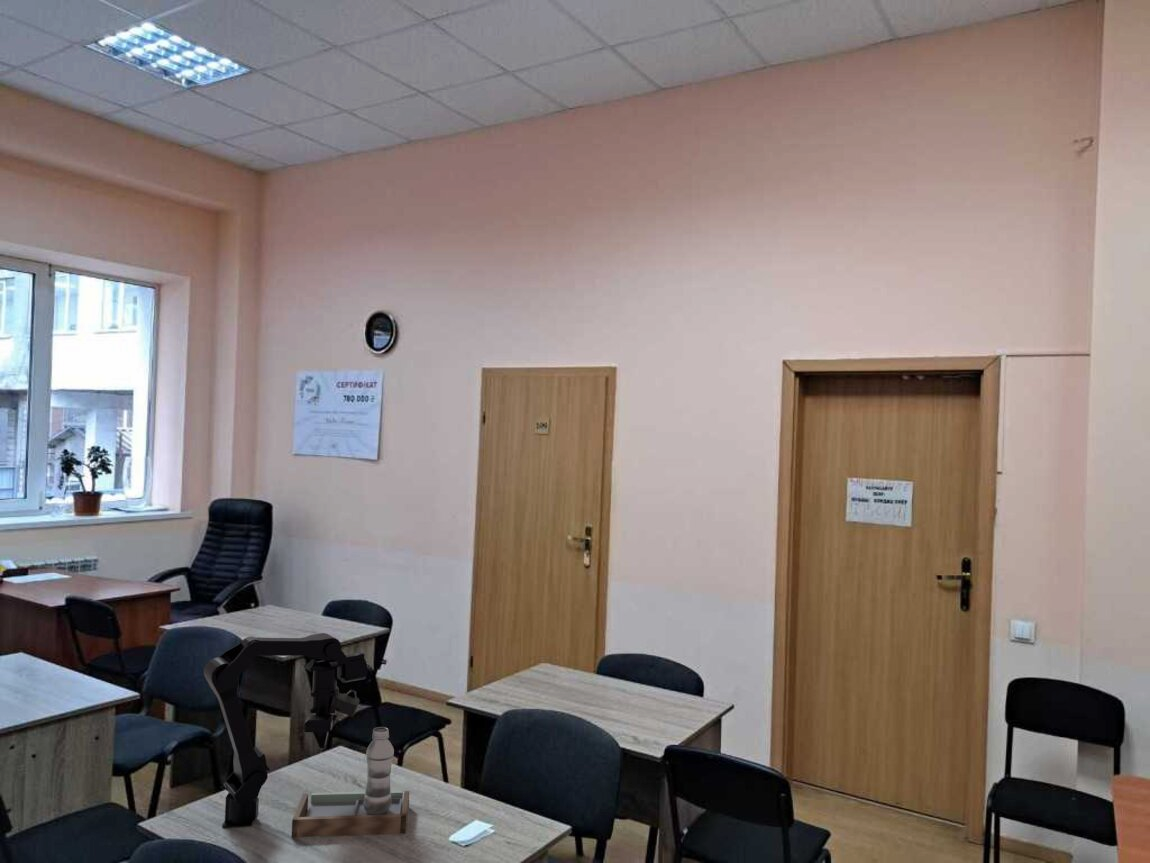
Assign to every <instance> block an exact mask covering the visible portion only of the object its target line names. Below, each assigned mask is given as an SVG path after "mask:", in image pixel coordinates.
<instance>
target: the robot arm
mask: <svg viewBox="0 0 1150 863" xmlns="http://www.w3.org/2000/svg"><path fill="white" fill-rule="evenodd" d="M260 656H261V657H263V656H264V657H265V656H266V657H283V656H286V657H289V656H290V657H291V656H292V657H294V656H296V657H297V656H300V657H301V656H302V657H303V656H304V657H307V658H311V659H310V661H309V662H308V663H307V664H305V666H304V668H305V669H306V670H308V671H309V672H313V673H312V690H311V692H310V697H311V698H312V699H311V707H310V710H309V711H310V713H309V714H311V715H310V716H308V717H307V718H306V720H305V722H304V724H303V725H304V726H303V728H304V729H303V732H304V733H312V734H313V736H314V738H315V741H316V742H317V743H316V744H317V745H318V747H319V749H324V748H325V747H326V743H327V738H328V736H329V732H332V729H333V726H334V725H335V722H336V720H337V718H338V714H336V712H338V713H341V714H343V715H346V716H347V717H350V718H353V717H354V715H355V714H356V711H357V709H358V707H359V704H360V698H359V697H357V691H356V690H352V689H350V690H349V691H348V692H346V693H345V692H344V693H341V692H340V690H339V689H340V688H339V686H337V683H338V682H337V681H338V680H340V681H341V683H348V682H349V683H350V682H355V681H361V680H365V679H366V678H367V676H368V674H369V673H368V672H369V667H368V664H367V661H366V658H365V653H363V652H361V651H359V652H355V653H350V654H345V653H344V652H343V650H342V644H341V641H340V640H339V639H338V638H336V637H334V636H332V635H331V634H328V633H326V632H320V633H316V634H310V635H307V636H304V637H254V636H247V637H245V638H244V639H243V640H241V641H240V642H239V643H238V644H235V645H234V646H232V647H230V648H229V649H227V650H225V651H223V652H222V653H221V654H220V655H219V656H218V657H214V658H211V659H210V660H209V661H207V663H206V664H205V666H204V667H203V676H204V678H205V679H206V682H207V683H208V685H209V687H210V688H211V690H212V691H213V694H214V695H215V696H216V698H217V700H218V703H219V706H220V710H221V712H222V717H223V719H224V723H225V726H226V729H227V732H228V736H229V739H230V742H231V746H232V749H233V760H232V761H233V762H232V764H233V765H232V766H233V772H232V773H231V774H230V775H229V776H228V777H227V778H226V779H225V781H224V782H223V787H224V788H225V791H227V795H226V797H225V807H224V808H225V810H224V821H223V823H222V826H221V827H222V828H233V827H235V828H236V827H237V828H239V827H241V828H242V827H252V825H253V824H254V822H255V821H256V819H257V817H258V816H259V807H260V806H259V805H260V804H259V803H260V800H259V799H260V798H259V795H260V791H261V790H262V787H263V786H264V785H265V783H266V781H267V780H268V771H270V767H268V765H267V761H266V760H267V759H266V754H265V753H264V752H263V751H261V749H260V748H259V747H258V746H255V747H254V746H253V742H252V738H251V736H250V731H249V728H248V726H247V723H246V719H245V715H244V712H243V709H242V705H241V702H240V698H239V687H240V685H239V676H241V674H243V673H244V672H245V671H246V670H247V668H248V667H249V666H250V664H252V662H253V661H254V660H255V659H256V658H257V657H260ZM317 660H318V661H317Z"/></svg>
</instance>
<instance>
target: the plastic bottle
mask: <svg viewBox="0 0 1150 863" xmlns="http://www.w3.org/2000/svg"><path fill="white" fill-rule="evenodd" d="M389 733H390V732H389V728H387V727H385V726H378V727H374V728H373V730H372V736H371V737H372V738H371V739H372V741H371V742H370V744H369V745H368V746H367V749H366V753H365V755H366V756H365V757H366V765H367V766H366V767H367V768H366V769H367V771H366V772H367V773H366V774H367V775H366V776H367V780H366V781H367V782H366V788H365V792H366V793H365V796H364V802H363V804H364V810H365V811H366V813H367V814H369V815H383V814H385V813H387V812H388V811H389V809H390V807H391V803H392V798H391V792H390V791H391V773H392V772H391V771H392V766H393V760H394V756H395V755H394V754H395V753H394V752H395V750H394V746H393V745H392V743H391V741H390V740H389V738H390V734H389Z"/></svg>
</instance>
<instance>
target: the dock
mask: <svg viewBox="0 0 1150 863" xmlns="http://www.w3.org/2000/svg"><path fill="white" fill-rule="evenodd" d="M409 806H410V791H409V790H404V791H403V802H402V809H401V814H386V815H353V816H319V817H306V815H307V812H308V810H309V793H302V796H301V798H300V801H299V803H298V805H297V808H296V810H295V813H294V815H293V817H292V819H291V838H311V837H313V836H319V837H342V836H346V837H347V836H348V837H349V836H369V835H370V836H374V835H375V836H376V835H377V836H378V835H403V834H404V835H405V834H406V832H407V824H408V816H409V810H408V809H409V808H410V807H409ZM309 836H310V837H309Z"/></svg>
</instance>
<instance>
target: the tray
mask: <svg viewBox="0 0 1150 863" xmlns="http://www.w3.org/2000/svg"><path fill="white" fill-rule="evenodd" d="M390 792H391V798H392V803H391V807H390V809H389V811H388V812H387V813H385V814H383V815H386V814H401V812H402V805H403V798H404V791H403V790H390ZM365 793H366V791H352V792H351V791H349V792H348V791H346V792H342V791H341V792H312V793H311V797H310V798H311V799H310V805H309V806H308V810H307V813H306V815H305V817H319V816H353V815H369V814H367V813H366V811H365V810H364V804H363V802H364V796H365Z"/></svg>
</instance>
